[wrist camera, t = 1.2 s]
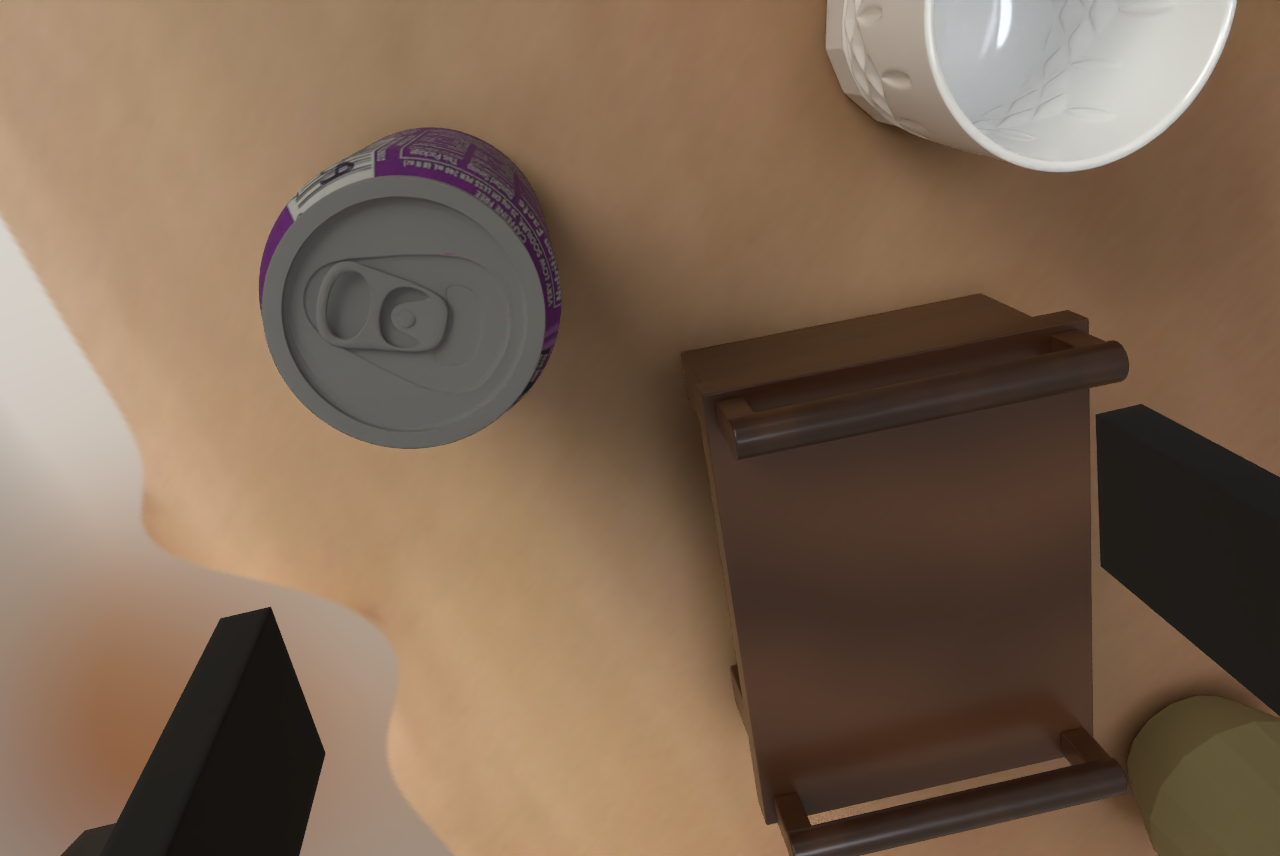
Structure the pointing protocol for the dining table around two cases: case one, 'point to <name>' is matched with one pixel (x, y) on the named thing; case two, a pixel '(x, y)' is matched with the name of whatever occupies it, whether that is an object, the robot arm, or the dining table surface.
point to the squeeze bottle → (1209, 779)
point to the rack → (909, 564)
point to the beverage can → (412, 290)
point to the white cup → (1028, 71)
